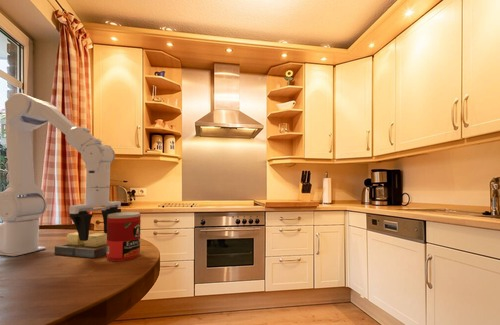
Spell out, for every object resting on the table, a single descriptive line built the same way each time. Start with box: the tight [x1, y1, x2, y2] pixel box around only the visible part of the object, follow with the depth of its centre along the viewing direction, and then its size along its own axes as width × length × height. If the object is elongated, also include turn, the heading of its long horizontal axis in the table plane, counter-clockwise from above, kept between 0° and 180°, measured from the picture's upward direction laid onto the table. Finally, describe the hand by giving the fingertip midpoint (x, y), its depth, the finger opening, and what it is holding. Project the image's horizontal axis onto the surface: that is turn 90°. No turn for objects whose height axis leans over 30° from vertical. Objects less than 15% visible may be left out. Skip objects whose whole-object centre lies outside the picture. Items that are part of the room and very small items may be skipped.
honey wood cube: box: [84, 232, 107, 249], centre depth 71 cm, size 4×4×5 cm
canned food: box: [106, 211, 142, 262], centre depth 67 cm, size 8×8×11 cm
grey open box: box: [54, 231, 107, 259], centre depth 72 cm, size 14×8×5 cm, turn 72°
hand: (96, 237), depth 71 cm, fingers open, 7 cm apart
